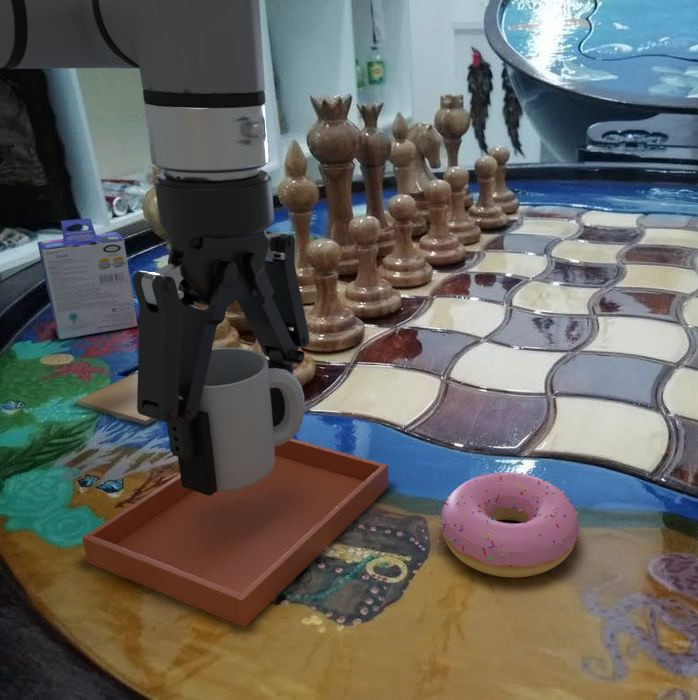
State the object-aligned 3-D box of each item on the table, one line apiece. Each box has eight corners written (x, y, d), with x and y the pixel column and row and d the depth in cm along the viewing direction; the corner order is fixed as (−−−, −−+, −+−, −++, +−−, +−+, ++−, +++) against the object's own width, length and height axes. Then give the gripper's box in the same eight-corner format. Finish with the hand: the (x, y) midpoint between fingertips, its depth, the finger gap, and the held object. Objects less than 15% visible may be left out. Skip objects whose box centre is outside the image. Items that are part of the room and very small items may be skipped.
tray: (86, 562, 55) (81, 537, 54) (254, 447, 71) (252, 427, 70) (245, 627, 49) (242, 600, 48) (388, 487, 65) (388, 464, 64)
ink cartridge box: (131, 315, 104) (115, 213, 98) (140, 327, 100) (124, 222, 94) (53, 328, 98) (31, 221, 93) (59, 341, 94) (36, 230, 89)
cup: (173, 457, 59) (159, 356, 56) (294, 430, 64) (287, 336, 60) (190, 504, 54) (175, 395, 50) (321, 471, 58) (316, 369, 55)
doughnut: (602, 571, 56) (608, 525, 54) (466, 602, 52) (467, 555, 50) (541, 493, 65) (544, 452, 63) (422, 515, 61) (422, 473, 60)
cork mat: (77, 405, 78) (76, 400, 78) (150, 371, 87) (149, 366, 86) (146, 425, 74) (145, 420, 74) (216, 388, 83) (215, 383, 83)
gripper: (125, 204, 39) (176, 550, 48) (348, 156, 57) (355, 414, 66) (28, 188, 42) (94, 518, 51) (270, 147, 60) (287, 396, 68)
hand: (241, 459), depth 58 cm, fingers closed on cup, 9 cm apart
